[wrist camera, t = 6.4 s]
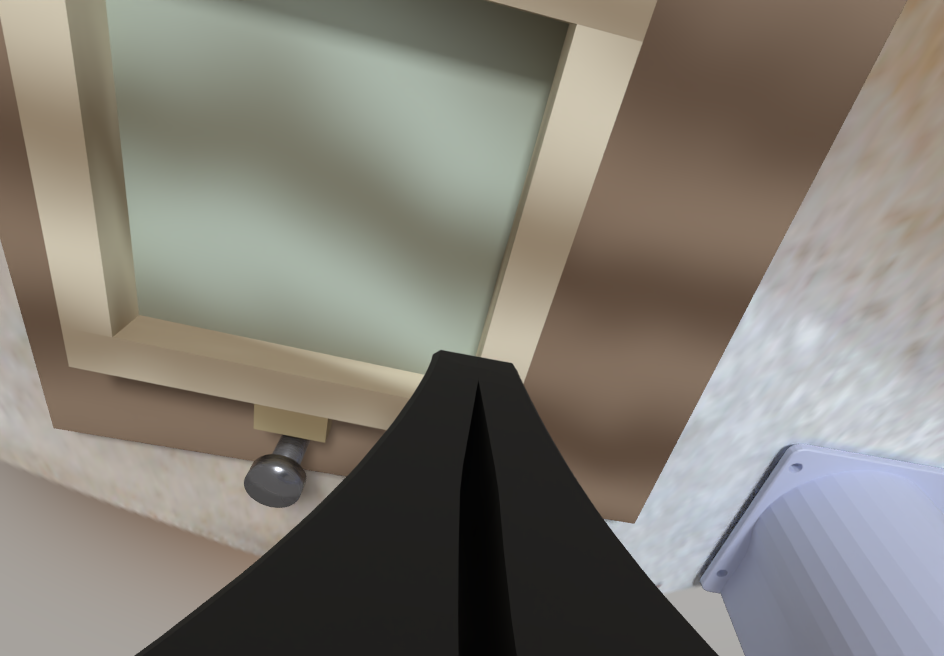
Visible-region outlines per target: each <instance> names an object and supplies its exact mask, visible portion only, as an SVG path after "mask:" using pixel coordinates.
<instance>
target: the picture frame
mask: <svg viewBox="0 0 944 656" xmlns="http://www.w3.org/2000/svg"><path fill="white" fill-rule="evenodd" d="M656 3H657V0H0V19H1V24H2V29H3V34H4V39H5V44H6V49H7V54H8V59H9V65H10V70H11V75H12V80H13V85H14V90H15V95H16V100H17V105H18V110H19V115H20V120H21V125H22V131H23V136H24V141H25V146H26V151H27V156H28V161H29V166H30V171H31V176H32V181H33V186H34V192H35V197H36V202H37V207H38V212H39V217H40V222H41V227H42V232H43V237H44V242H45V247H46V252H47V258H48V263H49V268H50V273H51V278H52V283H53V288H54V293H55V298H56V303H57V308H58V313H59V319H60V324H61V329H62V334H63V339H64V344H65V349H66V354H67V359H68V364H69V367H74V368H79V369H84V370H89V371H94V372H99V373H104V374H109V375H114V376H119V377H124V378H129V379H134V380H139V381H144V382H149V383H154V384H159V385H164V386H169V387H174V388H179V389H184V390H189V391H194V392H199V393H204V394H209V395H214V396H219V397H224V398H229V399H234V400H239V401H244V402H249V403H254V429H257V430H263V431H268V432H273V433H278V434H283V435H288V436H293V437H298V438H303V439H308V440H314V441H319V442H324V443H325V442H326V439H327V437H328V434H329V432H330V429H331V426H332V419H334V420H339V421H344V422H349V423H354V424H359V425H364V426H369V427H374V428H379V429H384V430H387V429H388V428H389V427H390V425H391V424H392V423H393V422H394V420H395V419H396V417H397V416H398V415H399V413H400V412H401V410H402V409H403V408H404V406H405V405H406V403H407V402H408V400H409V399H410V398H411V396H412V395H413V393H414V392H415V390H416V388H417V387H418V385H419V383H420V382H421V380H422V378H423V377H424V375H425V373H426V371H427V369H428V367H429V364H430V362H431V359H432V355H433V354H434V353H436V352H438V351H439V350H445V351H450V352H456V353H461V354H466V355H472V356H476V357H482V358H488V359H493V360H499V361H504V362H509V363H513V365H514V366H515V368H516V369H517V371H518V374H519V376H520V378H521V380H522V382H523V383H524V381H525V378H526V375H527V372H528V369H529V366H530V363H531V361H532V358H533V355H534V352H535V349H536V346H537V343H538V341H539V338H540V335H541V332H542V329H543V326H544V323H545V321H546V318H547V315H548V312H549V309H550V306H551V303H552V300H553V298H554V295H555V292H556V289H557V286H558V283H559V280H560V278H561V275H562V272H563V269H564V266H565V263H566V260H567V258H568V255H569V252H570V249H571V246H572V243H573V240H574V237H575V235H576V232H577V229H578V226H579V223H580V220H581V217H582V215H583V212H584V209H585V206H586V203H587V200H588V197H589V195H590V192H591V189H592V186H593V183H594V180H595V177H596V174H597V172H598V169H599V166H600V163H601V160H602V157H603V154H604V152H605V149H606V146H607V143H608V140H609V137H610V134H611V132H612V129H613V126H614V123H615V120H616V117H617V114H618V112H619V109H620V106H621V103H622V100H623V97H624V94H625V91H626V89H627V86H628V83H629V80H630V77H631V74H632V71H633V69H634V66H635V63H636V60H637V57H638V54H639V51H640V49H641V46H642V43H643V40H644V37H645V34H646V31H647V28H648V26H649V23H650V20H651V17H652V14H653V11H654V8H655V6H656Z"/></svg>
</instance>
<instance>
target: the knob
mask: <svg viewBox="0 0 944 656" xmlns="http://www.w3.org/2000/svg"><path fill="white" fill-rule="evenodd" d="M310 441H311V440H308V439H303V438H298V437H293V436H288V435H283V434H282V435H281V437H280V439H279V441H278V443H277V445H276V447H275V449H274V451H273V453H272V454H268V455H264V456H261V457H259V458H257V459H256V460H255V461H254V463H253V464H252V466H251V468H250V470H249V472H248V474H247V475H246V477H245V480H244V487H245V489H246V491H247V493H248V494H249V495H250V497H252V498H253V499H254V500H255V501H257V502H259V503H261V504H263V505H266V506H269V507H275V508H282V507H287V506H290V505H292V504H294V503H295V502H297V500H298V499H299V497H300V495H301V492H302V490H303V487H304V485H305V482H306V474H305V471H304V470H303V468H302V467H301V466H300V464H301V461H302V459H303V457H304V454H305V452H306V450H307V448H308V445H309V443H310Z"/></svg>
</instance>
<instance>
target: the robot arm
mask: <svg viewBox="0 0 944 656" xmlns="http://www.w3.org/2000/svg"><path fill="white" fill-rule="evenodd" d="M792 464H794V465H792ZM700 582H701V585H702V588H703V589H704V590H706V591H709V592H715V593H721V596H722V598H723V601H724V603H725V606H726V608H727V611H728V613H729V616H730V619H731V621H732V624H733V626H734V629H735V631H736V634H737V636H738V639H739V642H740V644H741V647H742V649H743V652H744V655H745V656H944V469H943V468H937V467H931V466H926V465H920V464H915V463H909V462H903V461H898V460H892V459H887V458H881V457H875V456H870V455H864V454H858V453H853V452H847V451H842V450H836V449H830V448H825V447H819V446H813V445H808V444H795V445H793V446H791V447H789V448H788V449H787V450H786V452H785V453H784V455H783V456H782V458H781V459H780V461H779V462H778V464H777V465H776V467H775V468H774V470H773V471H772V473H771V474H770V476H769V477H768V479H767V480H766V482H765V483H764V484H763V486H762V487H761V489H760V490H759V492H758V493H757V495H756V496H755V498H754V499H753V501H752V502H751V504H750V505H749V507H748V508H747V510H746V511H745V513H744V514H743V516H742V517H741V519H740V520H739V522H738V523H737V525H736V526H735V528H734V529H733V531H732V532H731V534H730V535H729V537H728V538H727V540H726V541H725V543H724V544H723V546H722V547H721V549H720V550H719V552H718V553H717V555H716V556H715V558H714V559H713V560H712V562H711V563H710V565H709V566H708V568H707V569H706V571H705V572H704V574H703V575H702V577H701V579H700ZM135 656H718V655H717V653H716V652H715V651H714V650H713V649H712V648H711V647H710V646H709V645H708V644H707V643H706V641H705V640H704V639H703V638H702V637H701V636H700V635H699V634H698V633H697V632H696V630H695V629H694V628H693V627H692V626H691V625H690V624H689V623H688V622H687V621H686V619H685V618H684V617H683V616H682V615H681V614H680V613H679V612H678V611H677V609H676V608H675V607H674V606H673V605H672V604H671V603H670V602H669V601H668V599H667V598H666V597H665V596H664V595H663V594H662V593H661V591H660V590H659V589H658V588H657V587H656V585H655V584H654V583H653V582H652V581H651V580H650V578H649V577H648V576H647V575H646V574H645V572H644V571H643V570H642V569H641V567H640V566H639V565H638V564H637V562H636V561H635V560H634V559H633V557H632V556H631V555H630V553H629V552H628V551H627V550H626V548H625V547H624V546H623V544H622V543H621V542H620V541H619V539H618V538H617V537H616V536H615V534H614V533H613V532H612V530H611V529H610V528H609V526H608V525H607V523H606V522H605V521H604V519H603V518H602V516H601V515H600V513H599V512H598V511H597V509H596V508H595V506H594V505H593V503H592V502H591V500H590V499H589V497H588V496H587V494H586V493H585V491H584V490H583V488H582V487H581V485H580V484H579V482H578V481H577V479H576V478H575V476H574V474H573V473H572V471H571V470H570V468H569V466H568V465H567V463H566V462H565V460H564V458H563V456H562V455H561V453H560V451H559V450H558V448H557V446H556V444H555V443H554V441H553V439H552V438H551V436H550V434H549V432H548V431H547V429H546V427H545V425H544V423H543V421H542V420H541V418H540V416H539V414H538V412H537V410H536V408H535V406H534V404H533V402H532V400H531V398H530V396H529V394H528V392H527V390H526V388H525V386H524V384H523V382H522V380H521V378H520V376H519V374H518V371H517V369H516V368H515V366H514V365H513V363H509V362H504V361H499V360H493V359H488V358H482V357H476V356H472V355H466V354H461V353H456V352H450V351H445V350H439V351H438V352H436V353H434V354H433V355H432V359H431V362H430V364H429V367H428V369H427V371H426V373H425V375H424V377H423V378H422V380H421V382H420V383H419V385H418V387H417V388H416V390H415V392H414V393H413V395H412V396H411V398H410V399H409V400H408V402H407V403H406V405H405V406H404V408H403V409H402V410H401V412H400V413H399V415H398V416H397V417H396V419H395V420H394V422H393V423H392V424H391V425H390V427H389V428H388V429H387V431H386V432H385V433H384V434H383V435H382V437H381V438H380V439H379V440H378V441H377V442H376V444H375V445H374V446H373V447H372V448H371V450H370V451H369V452H368V453H367V454H366V456H365V457H364V458H363V459H362V460H361V461H360V463H359V464H358V465H357V466H356V467H355V468H354V469H353V470H352V471H351V472H350V474H349V475H348V476H347V477H346V478H345V479H344V480H343V481H342V482H341V483H340V484H339V485H338V486H337V487H336V488H335V489H334V490H333V491H332V492H331V493H330V494H329V495H328V496H327V497H326V498H325V499H324V500H323V501H322V502H321V503H320V504H319V505H318V506H317V507H316V508H315V509H314V510H313V511H312V512H311V513H310V514H309V515H308V516H307V517H306V518H304V519H303V520H302V521H301V522H300V523H299V524H298V525H297V526H296V527H294V528H293V529H292V530H291V531H290V532H289V533H288V534H287V535H286V536H285V537H283V538H282V539H281V540H280V541H279V542H278V543H277V544H276V545H275V546H273V547H272V548H271V549H270V550H269V551H268V552H267V553H265V554H264V555H263V556H262V557H261V558H260V559H258V560H257V561H256V562H255V563H254V564H253V565H251V566H250V567H249V568H248V569H247V570H245V571H244V572H243V573H242V574H241V575H239V576H238V577H237V578H235V579H234V580H233V581H232V582H230V583H229V584H228V585H226V586H225V587H224V588H223V589H221V590H220V591H219V592H217V593H216V594H215V595H214V596H213V597H211V598H210V599H208V600H207V601H206V602H205V603H203V604H202V605H201V606H199V607H198V608H197V609H196V610H194V611H193V612H192V613H190V614H189V615H188V616H187V617H185V618H184V619H183V620H181V621H180V622H179V623H178V624H176V625H175V626H174V627H172V628H171V629H170V630H169V631H167V632H166V633H165V634H164V635H162V636H161V637H159V638H158V639H157V640H155V641H154V642H153V643H151V644H150V645H148V646H147V647H146V648H144V649H143V650H142V651H140V652H139V653H138V654H136V655H135Z"/></svg>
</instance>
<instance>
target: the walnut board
mask: <svg viewBox="0 0 944 656" xmlns="http://www.w3.org/2000/svg"><path fill="white" fill-rule="evenodd" d="M906 2H907V0H657V3H656V6H655V8H654V11H653V14H652V17H651V20H650V23H649V26H648V28H647V31H646V34H645V37H644V40H643V43H642V46H641V49H640V51H639V54H638V57H637V60H636V63H635V66H634V69H633V71H632V74H631V77H630V80H629V83H628V86H627V89H626V91H625V94H624V97H623V100H622V103H621V106H620V109H619V112H618V114H617V117H616V120H615V123H614V126H613V129H612V132H611V134H610V137H609V140H608V143H607V146H606V149H605V152H604V154H603V157H602V160H601V163H600V166H599V169H598V172H597V174H596V177H595V180H594V183H593V186H592V189H591V192H590V195H589V197H588V200H587V203H586V206H585V209H584V212H583V215H582V217H581V220H580V223H579V226H578V229H577V232H576V235H575V237H574V240H573V243H572V246H571V249H570V252H569V255H568V258H567V260H566V263H565V266H564V269H563V272H562V275H561V278H560V280H559V283H558V286H557V289H556V292H555V295H554V298H553V300H552V303H551V306H550V309H549V312H548V315H547V318H546V321H545V323H544V326H543V329H542V332H541V335H540V338H539V341H538V343H537V346H536V349H535V352H534V355H533V358H532V361H531V363H530V366H529V369H528V372H527V375H526V378H525V381H524V383H523V384H524V386H525V388H526V390H527V392H528V394H529V396H530V398H531V400H532V402H533V404H534V406H535V408H536V410H537V412H538V414H539V416H540V418H541V420H542V421H543V423H544V425H545V427H546V429H547V431H548V432H549V434H550V436H551V438H552V439H553V441H554V443H555V444H556V446H557V448H558V450H559V451H560V453H561V455H562V456H563V458H564V460H565V462H566V463H567V465H568V466H569V468H570V470H571V471H572V473H573V474H574V476H575V478H576V479H577V481H578V482H579V484H580V485H581V487H582V488H583V490H584V491H585V493H586V494H587V496H588V497H589V499H590V500H591V502H592V503H593V505H594V506H595V508H596V509H597V511H598V512H599V513H600V515H601V516H602V518H603V519H609V520H615V521H621V522H627V523H635V521H636V520H637V518H638V516H639V514H640V512H641V510H642V508H643V506H644V504H645V502H646V500H647V498H648V497H649V495H650V493H651V491H652V489H653V487H654V485H655V483H656V481H657V479H658V477H659V475H660V474H661V472H662V470H663V468H664V466H665V464H666V462H667V460H668V458H669V456H670V454H671V452H672V451H673V449H674V447H675V445H676V443H677V441H678V439H679V437H680V435H681V433H682V431H683V429H684V428H685V426H686V424H687V422H688V420H689V418H690V416H691V414H692V412H693V410H694V408H695V406H696V405H697V403H698V401H699V399H700V397H701V395H702V393H703V391H704V389H705V387H706V385H707V383H708V382H709V380H710V378H711V376H712V374H713V372H714V370H715V368H716V366H717V364H718V362H719V360H720V359H721V357H722V355H723V353H724V351H725V349H726V347H727V345H728V343H729V341H730V339H731V337H732V336H733V334H734V332H735V330H736V328H737V326H738V324H739V322H740V320H741V318H742V316H743V314H744V313H745V311H746V309H747V307H748V305H749V303H750V301H751V299H752V297H753V295H754V293H755V291H756V290H757V288H758V286H759V284H760V282H761V280H762V278H763V276H764V274H765V272H766V270H767V268H768V267H769V265H770V263H771V261H772V259H773V257H774V255H775V253H776V251H777V249H778V247H779V245H780V244H781V242H782V240H783V238H784V236H785V234H786V232H787V230H788V228H789V226H790V224H791V222H792V221H793V219H794V217H795V215H796V213H797V211H798V209H799V207H800V205H801V203H802V201H803V199H804V198H805V196H806V194H807V192H808V190H809V188H810V186H811V184H812V182H813V180H814V178H815V176H816V175H817V173H818V171H819V169H820V167H821V165H822V163H823V161H824V159H825V157H826V155H827V153H828V152H829V150H830V148H831V146H832V144H833V142H834V140H835V138H836V136H837V134H838V132H839V130H840V129H841V127H842V125H843V123H844V121H845V119H846V117H847V115H848V113H849V111H850V109H851V107H852V106H853V104H854V102H855V100H856V98H857V96H858V94H859V92H860V90H861V88H862V86H863V84H864V83H865V81H866V79H867V77H868V75H869V73H870V71H871V69H872V67H873V65H874V63H875V61H876V60H877V58H878V56H879V54H880V52H881V50H882V48H883V46H884V44H885V42H886V40H887V38H888V37H889V35H890V33H891V31H892V29H893V27H894V25H895V23H896V21H897V19H898V17H899V15H900V14H901V12H902V10H903V8H904V6H905V4H906ZM0 239H1V243H2V246H3V250H4V253H5V257H6V261H7V264H8V268H9V271H10V275H11V278H12V282H13V285H14V289H15V293H16V296H17V300H18V303H19V307H20V310H21V314H22V317H23V321H24V324H25V328H26V332H27V335H28V339H29V342H30V346H31V349H32V353H33V356H34V360H35V363H36V367H37V371H38V374H39V378H40V381H41V385H42V388H43V392H44V395H45V399H46V403H47V406H48V410H49V413H50V417H51V420H52V424H53V427H54V428H56V429H62V430H68V431H74V432H80V433H87V434H93V435H99V436H105V437H111V438H117V439H123V440H129V441H135V442H141V443H147V444H153V445H159V446H166V447H172V448H178V449H184V450H190V451H196V452H202V453H208V454H214V455H220V456H226V457H232V458H238V459H245V460H251V461H255V460H256V459H257V458H259V457H261V456H264V455H268V454H272V453H273V451H274V449H275V447H276V445H277V443H278V441H279V439H280V437H281V435H282V434H278V433H273V432H268V431H263V430H257V429H254V403H249V402H244V401H239V400H234V399H229V398H224V397H219V396H214V395H209V394H204V393H199V392H194V391H189V390H184V389H179V388H174V387H169V386H164V385H159V384H154V383H149V382H144V381H139V380H134V379H129V378H124V377H119V376H114V375H109V374H104V373H99V372H94V371H89V370H84V369H79V368H74V367H69V364H68V359H67V354H66V349H65V344H64V339H63V334H62V329H61V324H60V319H59V313H58V308H57V303H56V298H55V293H54V288H53V283H52V278H51V273H50V268H49V263H48V258H47V252H46V247H45V242H44V237H43V232H42V227H41V222H40V217H39V212H38V207H37V202H36V197H35V192H34V186H33V181H32V176H31V171H30V166H29V161H28V156H27V151H26V146H25V141H24V136H23V131H22V125H21V120H20V115H19V110H18V105H17V100H16V95H15V90H14V85H13V80H12V75H11V70H10V65H9V59H8V54H7V49H6V44H5V39H4V34H3V29H2V24H1V19H0ZM386 431H387V430H384V429H379V428H374V427H369V426H364V425H359V424H354V423H349V422H344V421H339V420H334V419H332V426H331V429H330V432H329V434H328V437H327V439H326V442H325V443H324V442H319V441H314V440H311V441H310V443H309V445H308V448H307V450H306V452H305V454H304V457H303V459H302V461H301V464H300V466H301V467H302V468H303V469H305V470H311V471H317V472H324V473H330V474H336V475H342V476H348V475H349V474H350V472H351V471H352V470H353V469H354V468H355V467H356V466H357V465H358V464H359V463H360V461H361V460H362V459H363V458H364V457H365V456H366V454H367V453H368V452H369V451H370V450H371V448H372V447H373V446H374V445H375V444H376V442H377V441H378V440H379V439H380V438H381V437H382V435H383V434H384V433H385V432H386Z"/></svg>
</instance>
